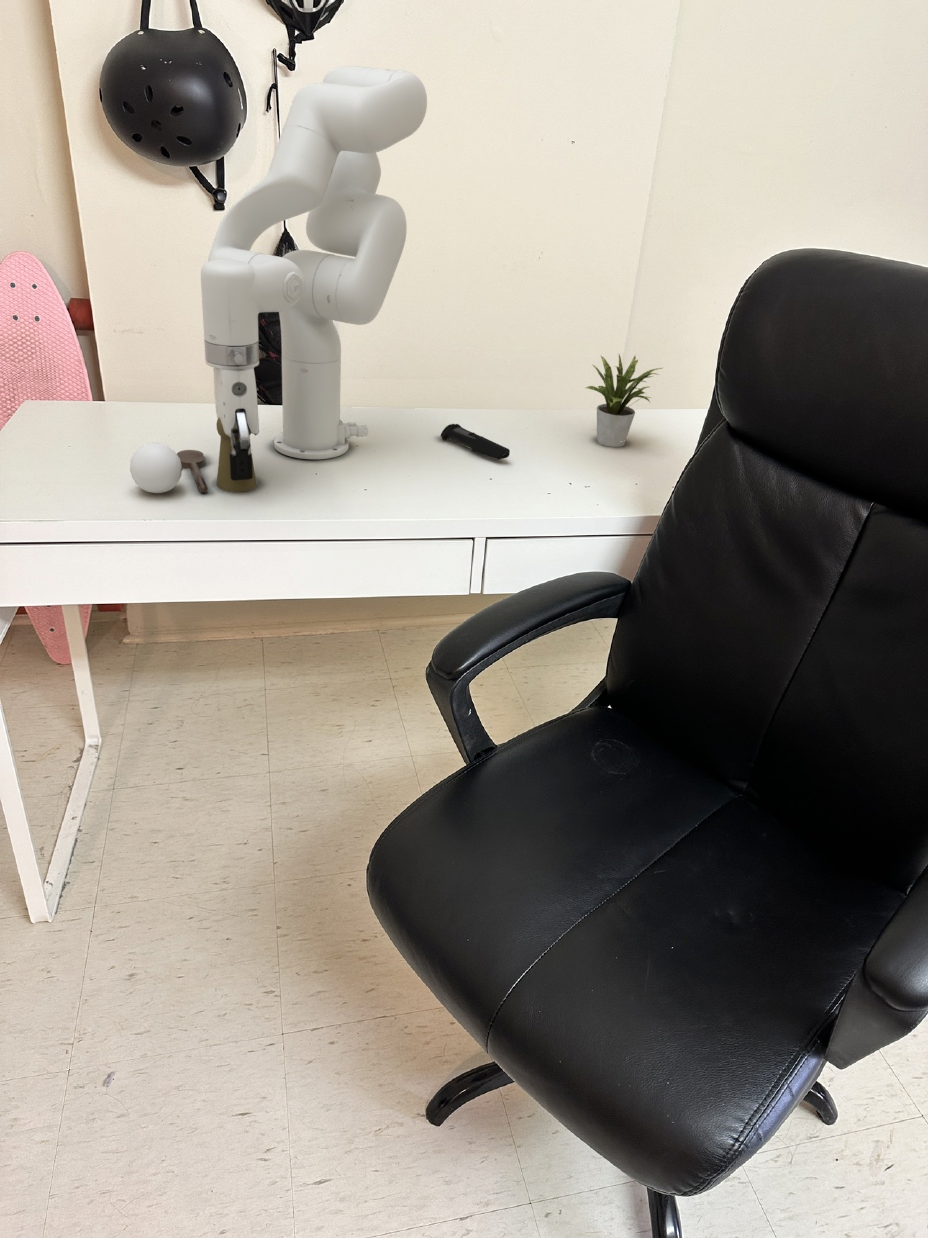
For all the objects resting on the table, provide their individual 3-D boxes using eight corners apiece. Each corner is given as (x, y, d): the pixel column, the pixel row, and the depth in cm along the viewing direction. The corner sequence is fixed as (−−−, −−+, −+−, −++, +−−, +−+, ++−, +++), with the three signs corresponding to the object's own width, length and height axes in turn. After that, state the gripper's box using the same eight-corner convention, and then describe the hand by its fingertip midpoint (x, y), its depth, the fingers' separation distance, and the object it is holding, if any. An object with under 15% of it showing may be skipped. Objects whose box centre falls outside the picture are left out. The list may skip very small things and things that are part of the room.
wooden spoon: (174, 456, 153) (174, 449, 152) (201, 454, 154) (201, 447, 154) (189, 495, 140) (189, 487, 140) (218, 493, 142) (218, 485, 141)
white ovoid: (187, 499, 139) (183, 451, 135) (134, 502, 136) (129, 454, 133) (179, 473, 147) (176, 428, 143) (129, 476, 144) (124, 430, 141)
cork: (262, 480, 147) (261, 411, 142) (247, 494, 142) (245, 423, 137) (226, 474, 148) (223, 405, 143) (209, 488, 143) (205, 417, 138)
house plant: (651, 462, 168) (669, 371, 160) (574, 452, 170) (587, 361, 162) (650, 437, 181) (666, 351, 172) (578, 427, 182) (590, 342, 174)
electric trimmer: (497, 467, 161) (499, 450, 159) (438, 438, 170) (439, 421, 168) (513, 463, 163) (515, 446, 161) (454, 435, 172) (455, 418, 171)
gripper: (271, 369, 130) (273, 490, 139) (246, 336, 144) (250, 448, 152) (215, 370, 127) (222, 493, 136) (195, 337, 141) (202, 451, 150)
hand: (237, 469), depth 144 cm, fingers open, 6 cm apart
